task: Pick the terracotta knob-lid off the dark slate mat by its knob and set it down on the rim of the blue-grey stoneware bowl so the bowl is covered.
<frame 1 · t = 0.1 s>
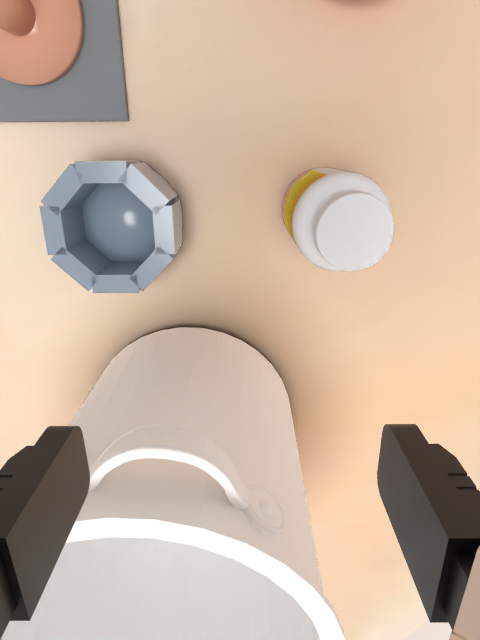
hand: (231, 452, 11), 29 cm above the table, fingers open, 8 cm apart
bucket: (193, 410, 45), on the table
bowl: (126, 220, 38), on the table
supplement bottle: (318, 207, 38), on the table
mat: (27, 20, 33), on the table
lid: (24, 18, 32), point 1 cm above the table, touching mat
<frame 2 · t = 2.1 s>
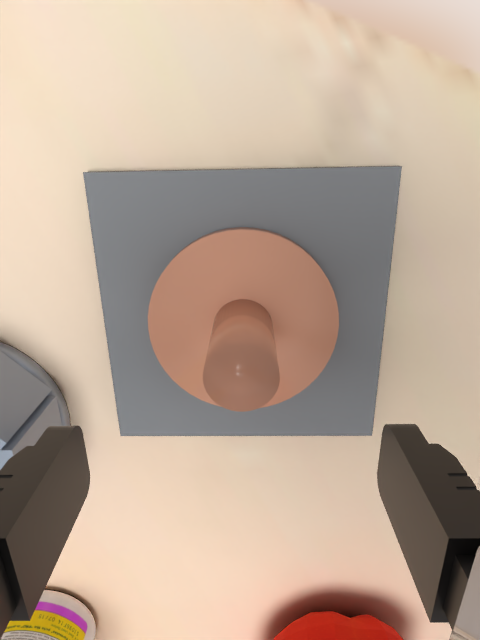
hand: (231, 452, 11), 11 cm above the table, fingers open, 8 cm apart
tomato: (331, 635, 31), on the table
supplement bottle: (53, 614, 31), on the table
mat: (243, 314, 22), on the table
lid: (243, 318, 21), point 1 cm above the table, touching mat
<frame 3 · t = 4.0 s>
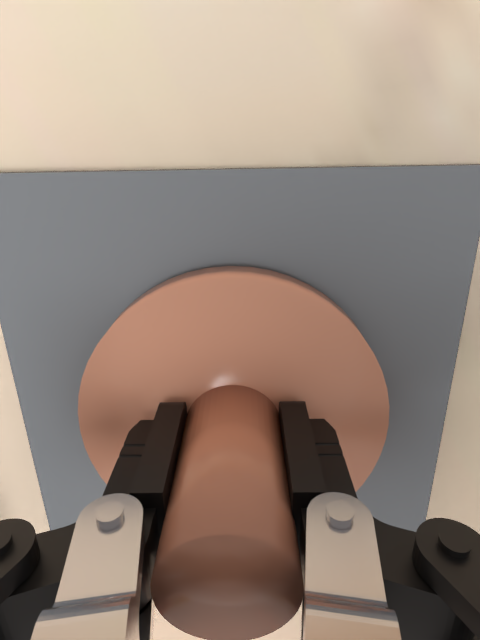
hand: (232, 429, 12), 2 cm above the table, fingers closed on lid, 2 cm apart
mat: (232, 388, 14), on the table
lid: (234, 404, 14), point 1 cm above the table, touching gripper
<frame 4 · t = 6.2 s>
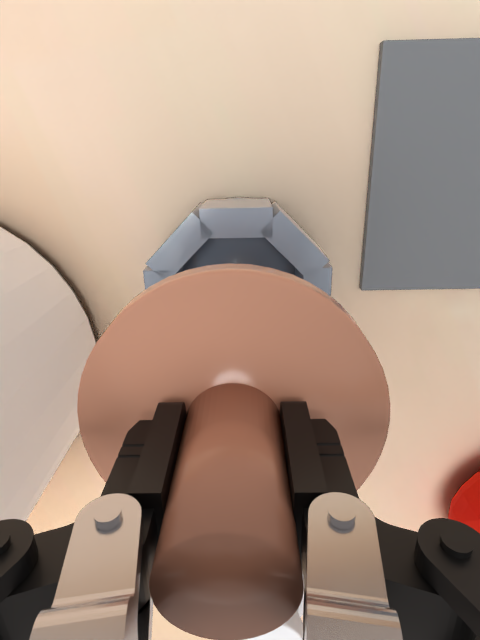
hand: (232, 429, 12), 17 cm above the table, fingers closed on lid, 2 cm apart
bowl: (239, 275, 28), on the table
supplement bottle: (256, 476, 35), on the table
lid: (234, 402, 14), point 16 cm above the table, touching gripper
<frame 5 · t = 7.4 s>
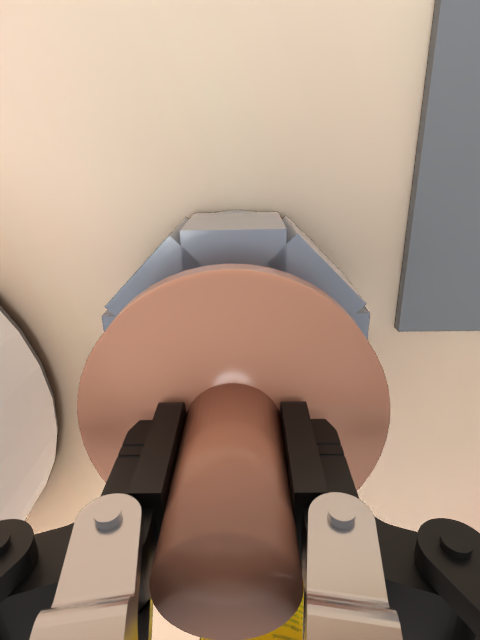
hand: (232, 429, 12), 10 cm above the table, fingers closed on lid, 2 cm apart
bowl: (238, 310, 22), on the table
supplement bottle: (258, 551, 28), on the table
lid: (234, 402, 14), point 9 cm above the table, touching gripper
when the fingers open (8 cm above the table, at t = 8.4 s): lid drops 1 cm, resting on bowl.
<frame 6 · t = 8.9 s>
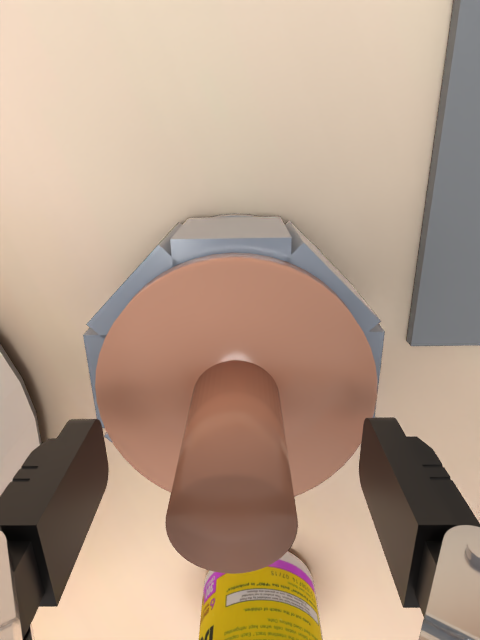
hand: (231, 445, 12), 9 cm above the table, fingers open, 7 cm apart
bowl: (236, 323, 20), on the table
supplement bottle: (258, 576, 26), on the table
lid: (236, 380, 15), point 5 cm above the table, touching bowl
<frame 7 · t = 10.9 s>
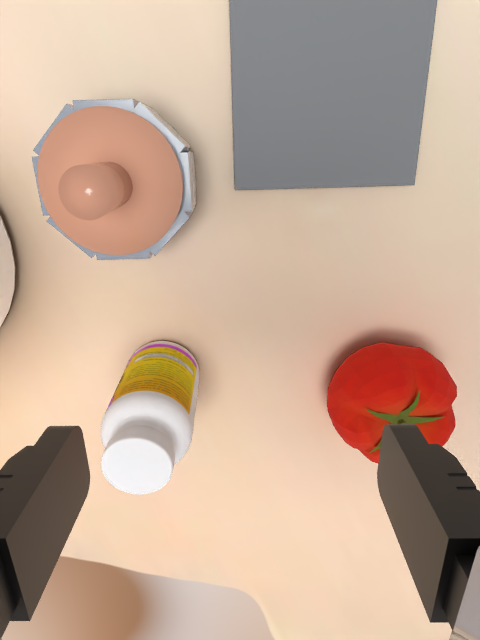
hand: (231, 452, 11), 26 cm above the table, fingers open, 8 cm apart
tomato: (376, 381, 41), on the table
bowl: (131, 178, 33), on the table
supplement bottle: (164, 369, 40), on the table
mat: (327, 86, 31), on the table
lid: (115, 183, 28), point 5 cm above the table, touching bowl
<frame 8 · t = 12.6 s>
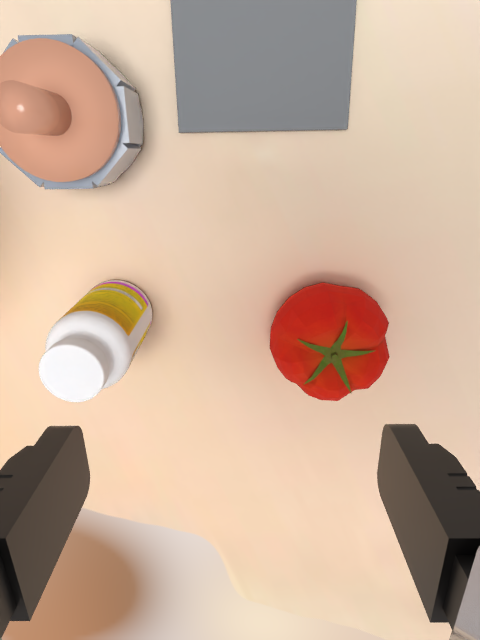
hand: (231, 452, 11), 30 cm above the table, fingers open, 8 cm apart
tomato: (321, 326, 43), on the table
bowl: (84, 121, 36), on the table
supplement bottle: (120, 310, 42), on the table
mat: (262, 33, 33), on the table
lid: (58, 115, 31), point 5 cm above the table, touching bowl
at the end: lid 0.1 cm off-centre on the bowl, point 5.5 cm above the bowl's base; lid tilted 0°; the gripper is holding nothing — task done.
